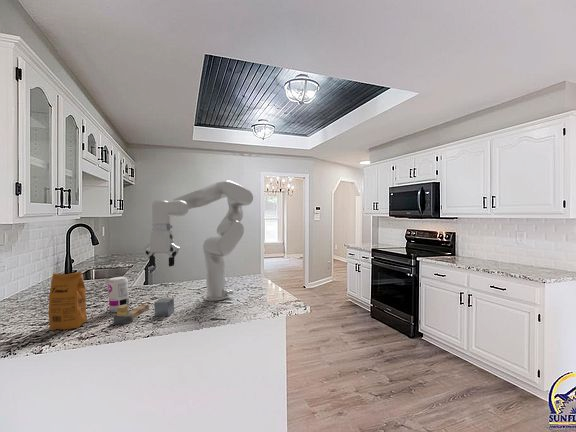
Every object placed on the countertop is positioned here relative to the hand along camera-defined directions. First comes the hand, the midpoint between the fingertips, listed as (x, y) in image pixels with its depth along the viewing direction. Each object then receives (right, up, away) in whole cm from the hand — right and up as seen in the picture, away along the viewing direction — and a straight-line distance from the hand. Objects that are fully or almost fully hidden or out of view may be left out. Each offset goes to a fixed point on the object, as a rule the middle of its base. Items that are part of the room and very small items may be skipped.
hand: (161, 265), depth 142 cm
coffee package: (-33, -23, -13) cm, 42 cm away
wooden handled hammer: (-11, -22, -4) cm, 25 cm away
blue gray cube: (+2, -21, -2) cm, 21 cm away
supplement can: (-22, -22, +6) cm, 32 cm away
